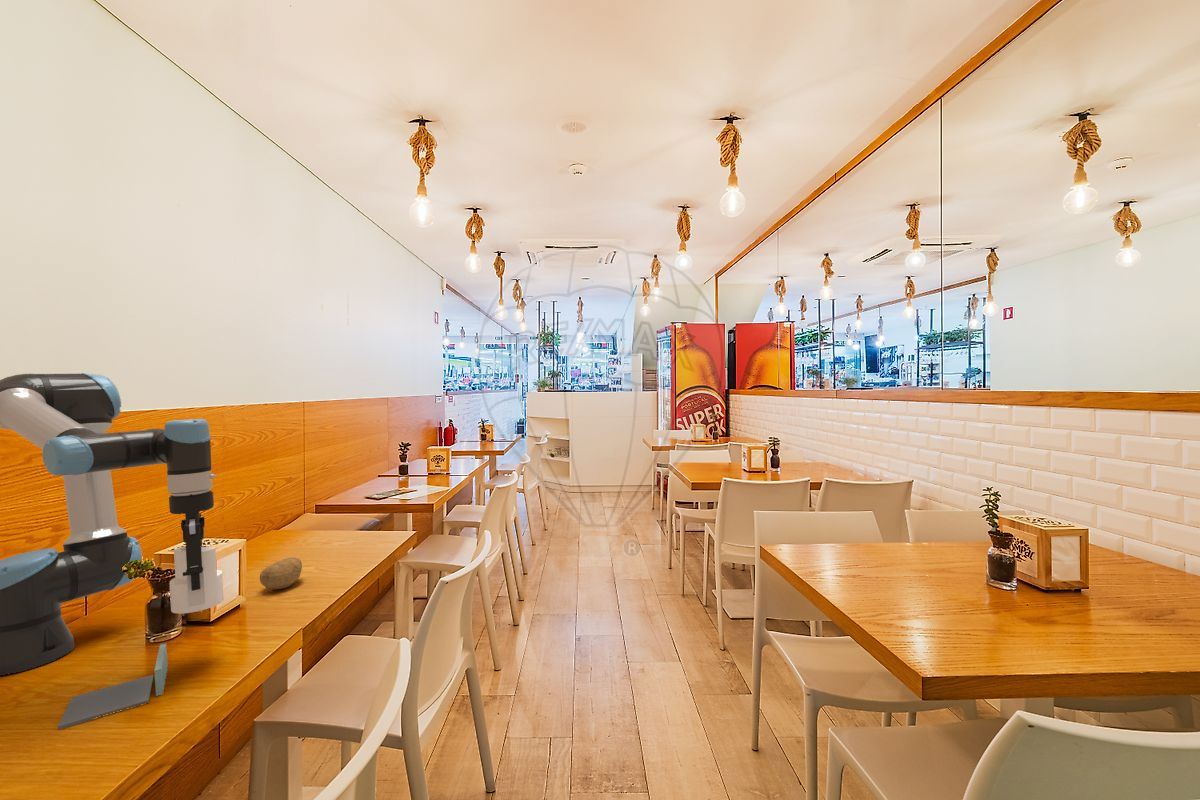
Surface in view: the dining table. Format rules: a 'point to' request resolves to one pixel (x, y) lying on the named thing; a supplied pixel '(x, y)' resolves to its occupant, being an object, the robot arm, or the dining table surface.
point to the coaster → (106, 701)
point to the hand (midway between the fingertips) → (197, 597)
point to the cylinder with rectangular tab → (211, 582)
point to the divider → (161, 669)
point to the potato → (281, 573)
